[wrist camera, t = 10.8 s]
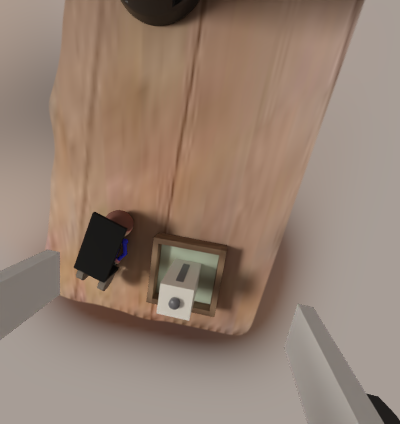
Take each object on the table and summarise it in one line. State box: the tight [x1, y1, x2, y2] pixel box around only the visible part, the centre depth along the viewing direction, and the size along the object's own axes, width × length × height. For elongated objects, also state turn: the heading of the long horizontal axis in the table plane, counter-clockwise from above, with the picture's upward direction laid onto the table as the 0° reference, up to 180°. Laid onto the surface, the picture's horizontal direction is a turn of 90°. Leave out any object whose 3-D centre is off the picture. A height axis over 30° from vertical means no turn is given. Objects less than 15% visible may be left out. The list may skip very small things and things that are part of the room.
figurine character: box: [74, 210, 133, 291], centre depth 38 cm, size 7×8×15 cm
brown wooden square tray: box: [147, 233, 227, 317], centre depth 38 cm, size 13×13×3 cm
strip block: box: [157, 258, 201, 321], centre depth 34 cm, size 5×5×10 cm
